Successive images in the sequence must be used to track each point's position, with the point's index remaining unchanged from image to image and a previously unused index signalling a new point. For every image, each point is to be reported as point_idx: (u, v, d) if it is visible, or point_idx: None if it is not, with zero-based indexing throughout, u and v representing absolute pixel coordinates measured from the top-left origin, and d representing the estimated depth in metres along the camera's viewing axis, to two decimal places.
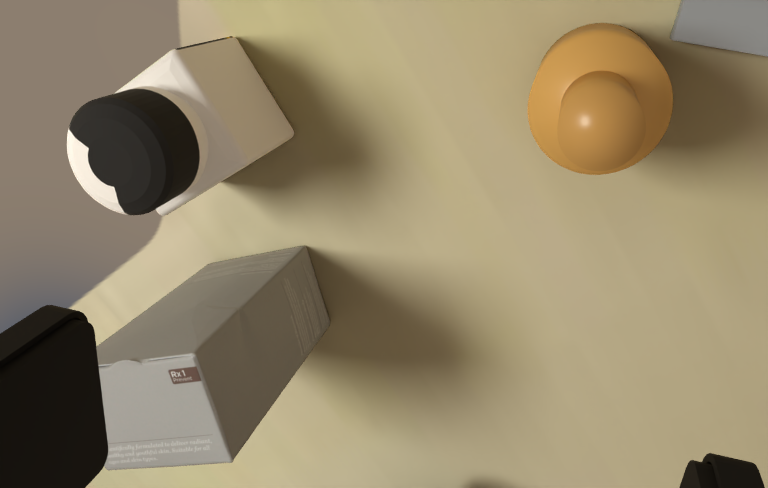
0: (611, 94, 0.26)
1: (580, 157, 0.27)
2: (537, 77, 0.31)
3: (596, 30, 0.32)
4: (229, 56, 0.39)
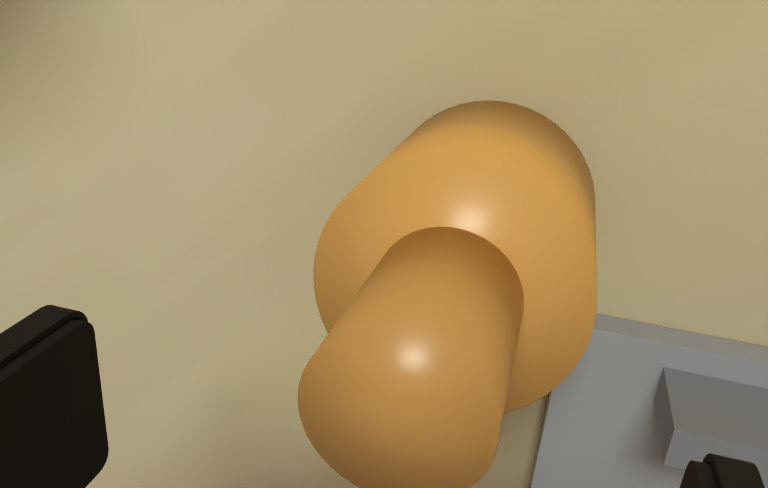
0: (483, 443, 0.11)
1: (323, 379, 0.11)
2: (504, 175, 0.13)
3: (595, 241, 0.16)
4: None
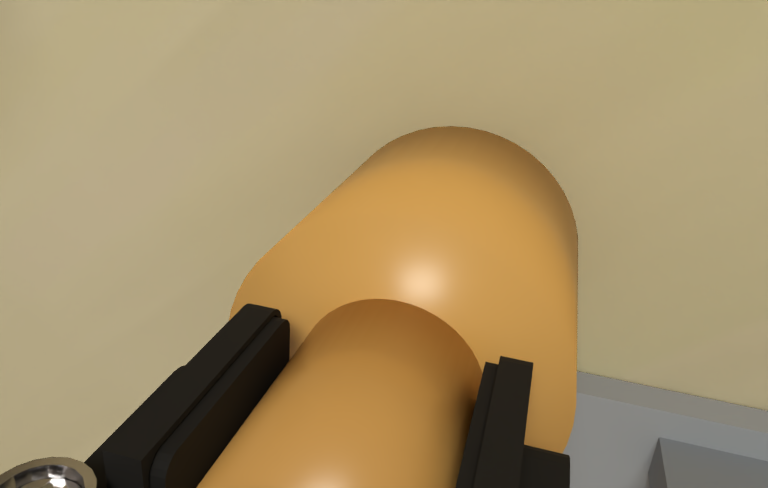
0: None
1: None
2: (457, 237, 0.10)
3: (576, 304, 0.13)
4: None
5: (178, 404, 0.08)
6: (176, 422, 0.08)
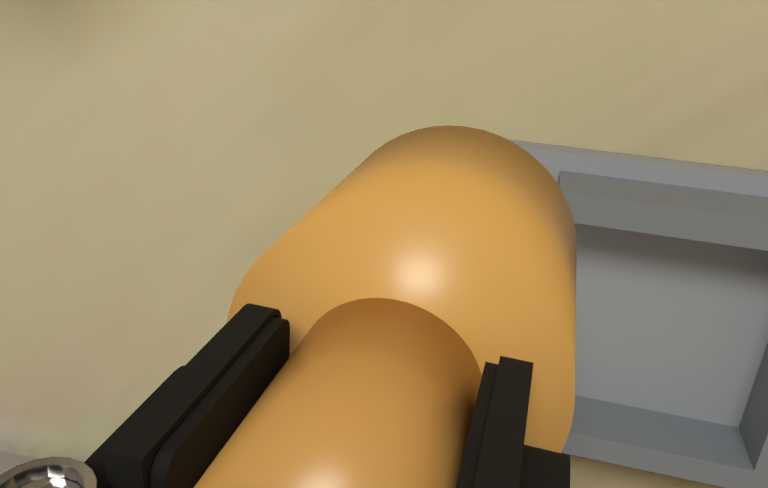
0: None
1: None
2: (455, 236, 0.10)
3: (575, 303, 0.13)
4: None
5: (178, 404, 0.08)
6: (175, 422, 0.08)
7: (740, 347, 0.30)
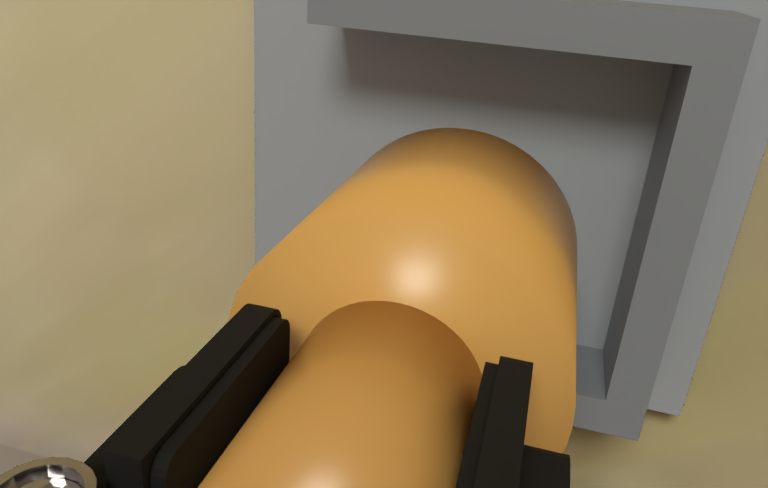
0: None
1: None
2: (456, 239, 0.10)
3: (575, 306, 0.13)
4: None
5: (178, 404, 0.08)
6: (176, 421, 0.08)
7: (598, 232, 0.21)
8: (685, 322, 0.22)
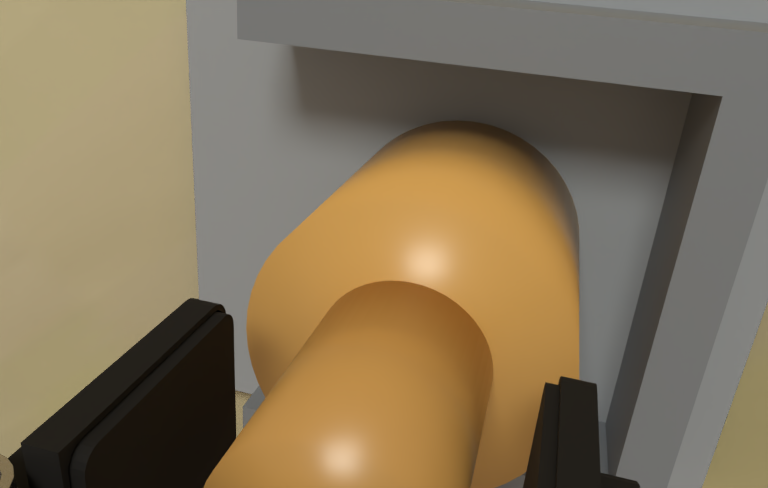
0: None
1: None
2: (467, 221, 0.11)
3: (578, 289, 0.14)
4: None
5: (104, 397, 0.08)
6: (99, 415, 0.08)
7: (600, 288, 0.18)
8: (704, 394, 0.18)
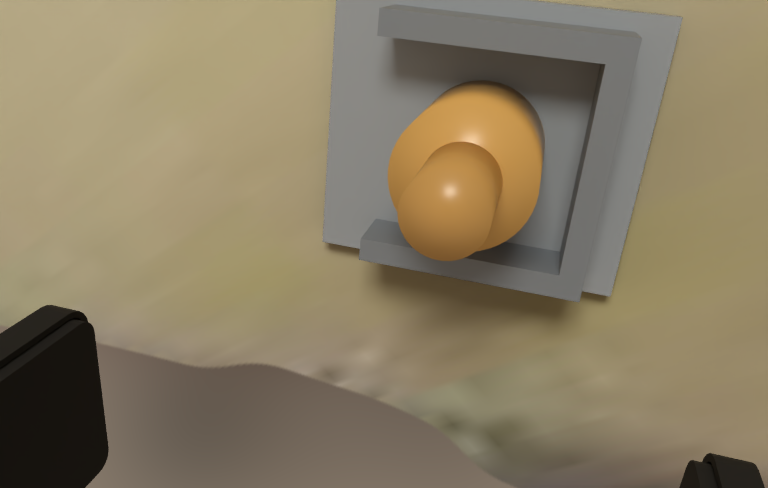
0: (484, 225, 0.24)
1: (410, 199, 0.24)
2: (493, 113, 0.26)
3: (542, 156, 0.29)
4: None
5: None
6: None
7: (556, 171, 0.33)
8: (612, 231, 0.34)
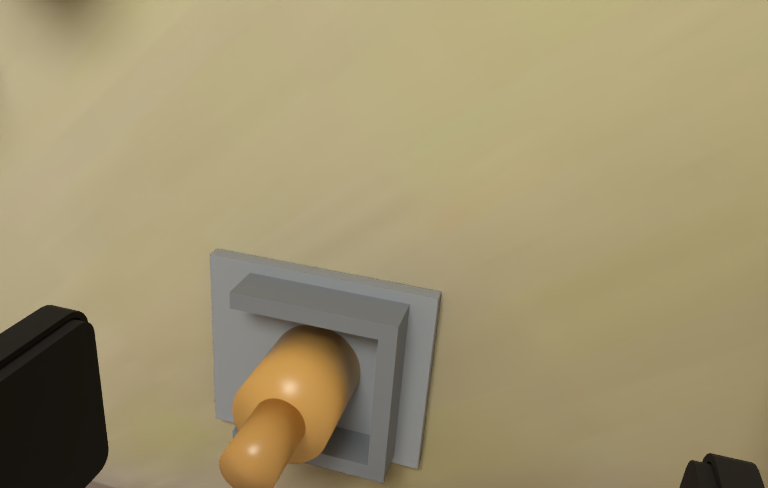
0: (271, 478, 0.37)
1: (226, 459, 0.37)
2: (293, 384, 0.39)
3: (341, 395, 0.42)
4: None
5: None
6: None
7: (370, 386, 0.46)
8: (412, 426, 0.47)
